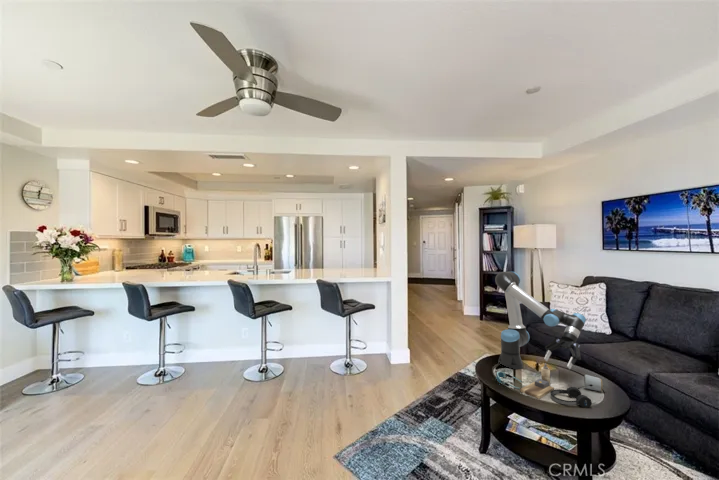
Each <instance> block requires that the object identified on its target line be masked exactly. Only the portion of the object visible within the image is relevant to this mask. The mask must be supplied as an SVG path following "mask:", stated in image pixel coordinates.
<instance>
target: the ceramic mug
mask: <svg viewBox="0 0 719 480" xmlns="http://www.w3.org/2000/svg"><path fill="white" fill-rule="evenodd" d="M590 384H592V385H593V386H589V385H590ZM584 386H586V387H584ZM583 388H584V389H586V390H589V391H590V390H591V391H596V392H602V391H603V388H604V387H603V379H601V378H600V377H596V376H593V375H589V374H584V378H583Z"/></svg>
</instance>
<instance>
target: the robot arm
mask: <svg viewBox="0 0 719 480" xmlns="http://www.w3.org/2000/svg"><path fill="white" fill-rule="evenodd" d="M494 282H495V285H496V286H497V287H498V288H499V289H500V290H502V291H503V292H504V297H505V301H506V308H507V315H508V321H509V325H508V326H507V329H504V330H502V331H501V332H500V355H499V357H498V363H499V362H500V363H501V364H502V365H504V366H506V367H509V368H508V369H510V368H513V369H512V370H520V369H521V370H522V369H523V367H524V366H523V365H524V364H523V360H522V358H521V354H520V353H521V352H520V351H521V347H524V346H525V345H527V344H528V343H529V341H530V340H531V339H530V334H529V332H528V331H527V328H526V325H524V324H523V317H522V311H521V305H520V303H521V304H523V305H524V306H525V307H527V308H528V309H529V310H530V311H531V312H533V313H534V314H536V315H537V316H538V317H539V318H540V319H542V320H543V322H544V324H545V325H546V326H548V327H556V326H558V325H559V324H562V325H565V326H566V327H565V329H564V331H563V333H562V335H561V338H560V339H559V338H558V337H555V338H554V339H553V340H552V341H550V342H549V343H548V344H547V345H545V346H544V349H545V350H546V351H545V354H544V355H545V356H544V358H543V359H544V360H545V362H548V361H549V359H550V357H551V355H552V352H553V351H555V350H557V349H561V348H563V349H567V350H569V351H570V353H571V355H572V356H570V359H569V361H568V363H567V365H566V367H567V368H568V370H571V369H572V367H573V365H575V363H576V362H577V360H578V361H581V360H582V357H581V351H580V347H581V345H580V343H578V342H577V341H578V338H579V336H580V335H581V332H582V330H583V328H584V327H585V324H586V321H587V318H586V317H585V315H583V314H581V313H579V312H573V314H570V313H568V312H567V313H566V312H565V311H561V310H558V309H555V308H551V309H549V308H548V307H547V306H546V305H544V304H542V303H541V302H540V301H539V300H537V299H536V298H534V297H533V296H532V295H530V294H529V293H527V292H526V291H525V290H524V289H522V288H521V287H520V286H519V285H520V284H521V283H520V282H521V277H520V275H519V274H518V273H516V272H515V271H509V270H508V271H502V272H501V271H500V272H498V273H497V274H496V275H495V281H494ZM573 347H574V348H575V351H574V349H573ZM506 367H505V368H506Z"/></svg>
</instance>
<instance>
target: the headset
mask: <svg viewBox="0 0 719 480" xmlns="http://www.w3.org/2000/svg"><path fill="white" fill-rule="evenodd" d="M589 386H593V385H592V384H590V385H589ZM584 387H586V386H584V385H583V386H582V387H581V386H580V387H575V386H569V387H567V388H566V389H559V388H558V389H554V390H552V391H551V392H550V393H549V394H550V398H551V400H552V401H553V402H554V403H557V404H559V405H563V406H580V407H581V408H585V407H587V408H590V407H591V406H592V403H593V401H592V400H591V398H589V397H588V396H587V395H585V394H582V391H581V390H580V389H582V388H584ZM563 394H565V395H568V396H569V397H570V398H572V399H575V400H565V399H562V398H558V397H556V396H555V395H563Z"/></svg>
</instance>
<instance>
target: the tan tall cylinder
mask: <svg viewBox="0 0 719 480" xmlns="http://www.w3.org/2000/svg"><path fill="white" fill-rule="evenodd" d="M547 365H548V364H547V362H545V363H544V365H543V366H541V368H540V369H541V371H540V373H541V379H542V380H545V381H548V382H549V386H551V368H549V367H548V366H547Z"/></svg>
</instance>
